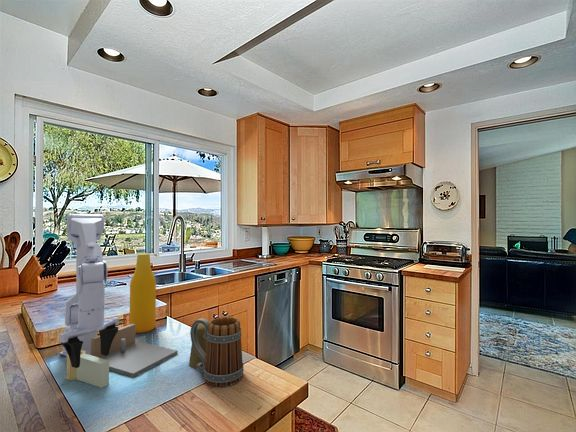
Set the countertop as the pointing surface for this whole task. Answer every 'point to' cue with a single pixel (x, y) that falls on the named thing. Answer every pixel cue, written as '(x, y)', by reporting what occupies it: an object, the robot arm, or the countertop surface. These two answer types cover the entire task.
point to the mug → (220, 351)
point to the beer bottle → (143, 296)
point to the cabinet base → (131, 352)
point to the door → (89, 370)
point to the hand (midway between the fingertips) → (90, 360)
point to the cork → (202, 342)
